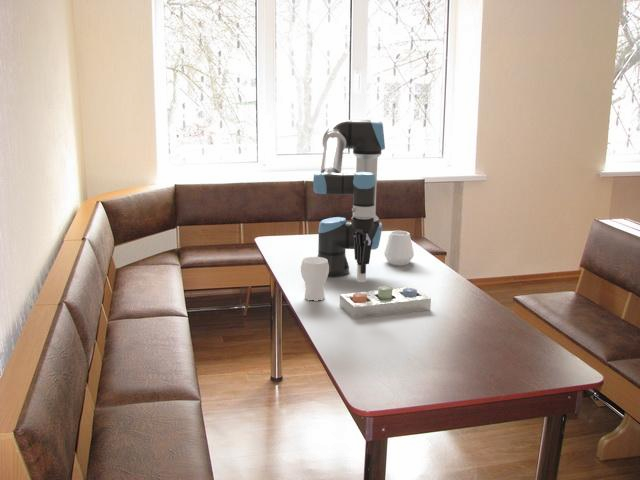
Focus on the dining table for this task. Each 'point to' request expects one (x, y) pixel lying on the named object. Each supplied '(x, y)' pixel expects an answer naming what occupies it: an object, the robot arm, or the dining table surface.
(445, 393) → the dining table surface
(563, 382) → the dining table surface
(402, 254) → the white vase
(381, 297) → the button sage
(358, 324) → the dining table surface
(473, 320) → the dining table surface
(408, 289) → the button slate
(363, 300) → the button terracotta
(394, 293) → the panel
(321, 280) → the cup
